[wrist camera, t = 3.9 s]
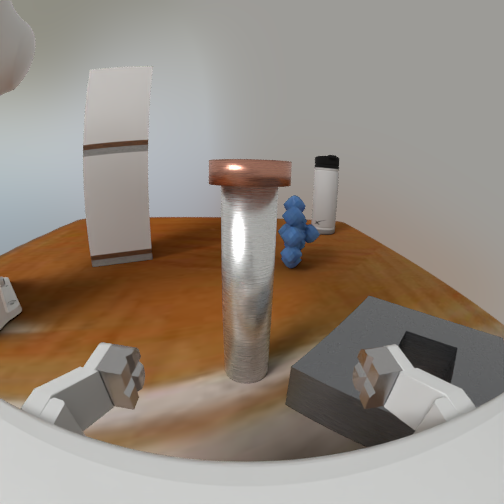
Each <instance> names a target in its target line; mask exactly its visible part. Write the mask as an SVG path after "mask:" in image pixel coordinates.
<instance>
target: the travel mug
mask: <svg viewBox="0 0 504 504" xmlns="http://www.w3.org/2000/svg"><path fill="white" fill-rule="evenodd" d="M338 166H339V158H338V157H336V156H334V155H328V156H318V157H316V158H315V173H314V193H313V209H312V223H311V224H312V225H313V226H314V227H315V228H316V229H317V230H318V232H319V234H325V235H329V234H333V233H334V230H335V219H336V208H337V194H338V178H339V177H338V176H339V173H338V171H339V167H338Z"/></svg>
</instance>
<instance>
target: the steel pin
mask: <svg viewBox="0 0 504 504" xmlns="http://www.w3.org/2000/svg"><path fill="white" fill-rule="evenodd" d="M209 184H211V185H221V195H222V196H221V202H222V203H221V243H222V301H223V333H224V358H225V372H226V374H227V376H228V377H229V378H230V379H232V380H234V381H236V382H239V383H254V382H257V381H259V380H261V379H263V378H264V377H265V376H266V374H267V370H268V357H269V343H270V329H271V314H272V299H273V282H274V264H275V245H276V224H277V199H278V187H284V186H290V185H291V162H289V161H276V160H252V159H222V160H209Z"/></svg>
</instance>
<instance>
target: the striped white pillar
mask: <svg viewBox="0 0 504 504" xmlns="http://www.w3.org/2000/svg"><path fill="white" fill-rule="evenodd" d="M152 70H153V66H142V67H140V66H137V67H117V68H104V69H93V70H90V73H89V79H88V87H87V96H86V106H85V121H84V142H83V173H84V197H85V211H86V222H87V231H88V239H89V247H90V254H91V260H92V266H93V267H97V266H104V265H112V264H120V263H128V262H135V261H143V260H151V259H152V248H151V235H150V219H149V198H148V127H149V106H150V92H151V78H152Z"/></svg>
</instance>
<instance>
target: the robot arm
mask: <svg viewBox="0 0 504 504" xmlns="http://www.w3.org/2000/svg"><path fill="white" fill-rule="evenodd" d="M35 44H36V43H35V36H34V32H33V30H32V29H31V27H30V26H29V24H27V23H26V22H25V21H23V20H22V19H21V18H20V16H19V15H18V14H17V12H16V11H15V9H14V7H13V4H12V1H11V0H0V95H2V94H4V93H7V92H9V91H12V90H14V89H15V88H16V87H17V86H18V85H19V84H20V82H21V81H22V80H23V79H24V77H25V75H26V74H27V72H28V70H29V68H30V66H31V64H32V61H33V58H34V54H35V47H36V45H35ZM21 311H22V308H21V306H20V303H19V301H18V299H17V297H16V295H15V292H14V290H13V288H12V285H11V283H10V281H9V279H8V278H3V277H0V330H1V329H2V327H3V326H4V325H5V324H6V323H7V322H8V321H9V320H11V319H12V318H14V317H15V316H17V315H18V314H19V313H21ZM140 357H141V355H140V352H139V349H137V348H135V347H128V346H122V345H116V344H109V343H103V342H102V343H100V344H99V345H98V347H97V348H96V349H95V351H94V352H93V354H92V355H91V357H90V358H89V360H88V361H87V363H86V364H85V366H84V367H79V368H77V369H75V370H73V371H71V372H69V373H66V374H64V375H62V376H60V377H58V378H56V379H54V380H52V381H50V382H48V383H46V384H44V385H42V386H39V387H37V388H35V389H34V390H33V392H32V393H31V394H30V396H29V397H28V399H27V400H26V402H25V403H24V404H23V406H22V407H21V409H19V408H17V407H16V406H14V405H12V404H10V403H8V402H6V401H5V400H3V399H1V398H0V504H504V392H503V393H502V394H500V395H498V396H497V397H495V398H493V399H492V400H490V401H488V402H486V403H484V404H482V405H481V406H479V407H477V408H476V407H475V405H474V404H473V403H472V401H471V400H470V399H469V397H468V396H467V395H466V393H465V392H464V391H463V389H461V388H459V387H457V386H455V385H452V384H450V383H448V382H446V381H444V380H442V379H440V378H438V377H435V376H433V375H431V374H429V373H427V372H425V371H423V370H421V369H419V368H414V367H413V366H412V364H411V363H410V362H409V360H408V359H407V357H406V356H405V355H404V353H403V352H402V351H401V349H400V348H399V347H398V346H397V345H396V344H393V345H387V346H383V347H375V348H367V349H361V350H360V352H359V354H358V357H357V358H358V360H359V363H358V364H356V365H355V366H354V370H353V384H354V387H355V389H356V390H358V391H359V392H361V393H360V396H359V398H360V400H361V403H362V405H363V407H364V409H369V408H375V407H380V406H384V407H385V408H386V409H387V410H389V411H390V412H391V413H393V414H394V415H395V416H396V417H398V418H399V419H400V420H402V421H403V422H404V423H406V424H407V425H408V426H410V427H411V428H412V429H414V430H415V432H414V433H413V435H410V436H407V437H404V438H400V439H397V440H394V441H390V442H387V443H383V444H379V445H375V446H371V447H367V448H363V449H359V450H354V451H349V452H344V453H338V454H332V455H326V456H319V457H312V458H303V459H293V460H279V461H250V462H243V461H214V460H200V459H190V458H181V457H174V456H167V455H161V454H155V453H149V452H144V451H139V450H135V449H130V448H126V447H122V446H118V445H114V444H110V443H106V442H103V441H99V440H96V439H93V438H90V437H87V436H85V434H84V433H83V431H84V430H85V429H87V428H88V427H89V426H90V425H92V424H93V423H94V422H96V421H97V420H98V419H99V418H101V417H102V416H103V415H104V414H106V413H107V412H108V411H109V410H111V409H112V408H113V407H114V406H116V407H122V408H128V409H135V406H136V403H137V401H138V398H139V396H138V393H137V392H138V391H139V390H141V389H142V388H143V385H144V380H145V371H144V367H143V365H142V364H141V363H140V362H139V359H140Z"/></svg>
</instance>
